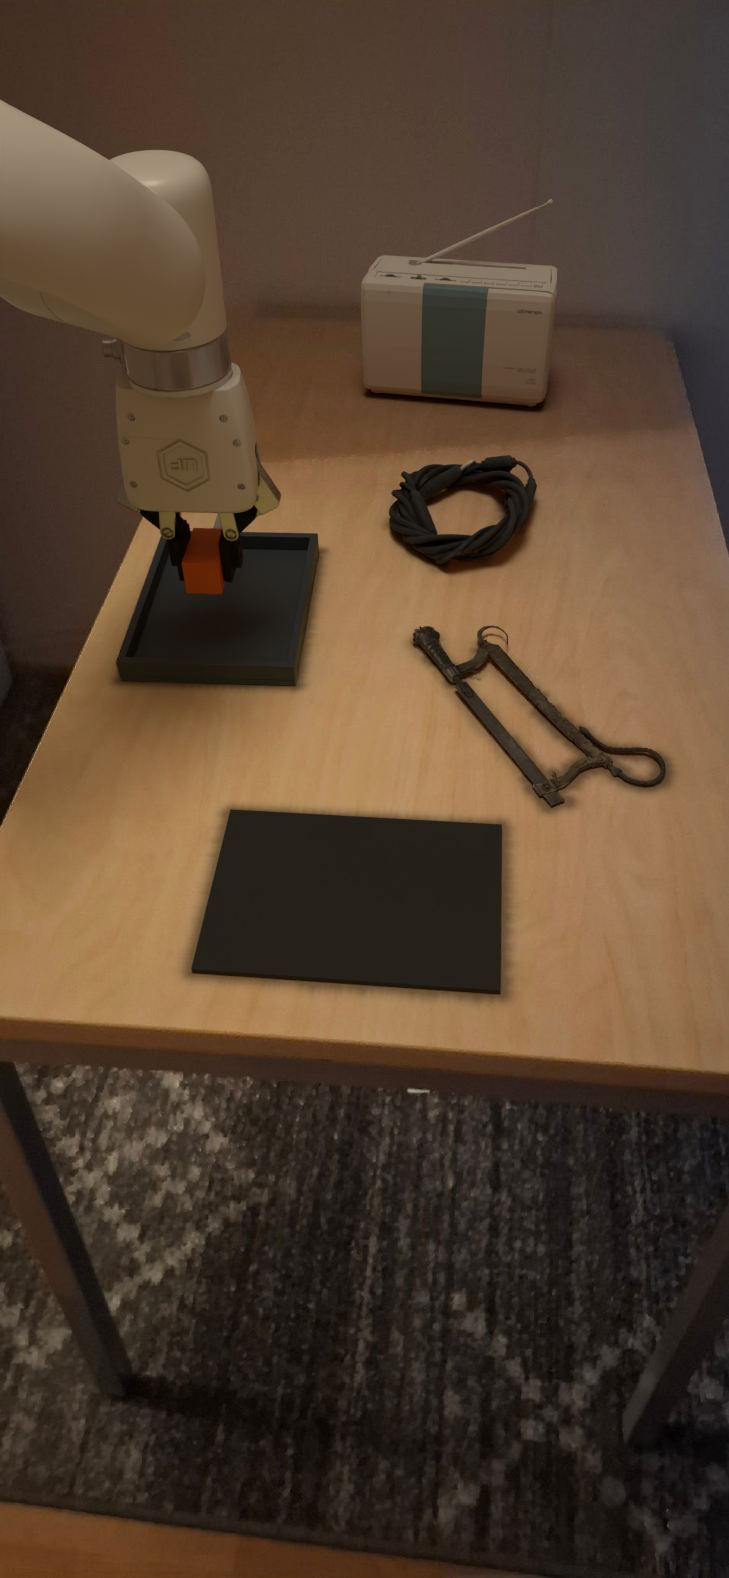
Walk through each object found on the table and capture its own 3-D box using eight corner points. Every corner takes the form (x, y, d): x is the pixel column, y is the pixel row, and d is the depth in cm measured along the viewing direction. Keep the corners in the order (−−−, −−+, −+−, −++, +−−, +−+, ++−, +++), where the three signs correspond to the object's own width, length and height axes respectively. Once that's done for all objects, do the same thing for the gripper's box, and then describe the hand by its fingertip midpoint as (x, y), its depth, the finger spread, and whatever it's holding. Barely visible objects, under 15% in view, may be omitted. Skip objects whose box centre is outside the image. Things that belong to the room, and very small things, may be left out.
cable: (512, 584, 96) (516, 543, 93) (365, 562, 99) (364, 522, 95) (542, 486, 107) (547, 447, 104) (410, 470, 110) (411, 431, 107)
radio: (361, 399, 121) (355, 212, 106) (376, 367, 126) (373, 184, 111) (542, 415, 117) (562, 223, 102) (550, 381, 122) (570, 195, 108)
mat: (191, 972, 68) (190, 969, 68) (230, 812, 77) (230, 808, 77) (500, 993, 66) (500, 990, 66) (501, 827, 76) (501, 824, 75)
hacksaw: (406, 638, 91) (406, 624, 90) (508, 604, 94) (509, 590, 93) (561, 824, 76) (563, 810, 75) (676, 776, 79) (680, 762, 78)
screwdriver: (222, 594, 86) (217, 564, 84) (186, 593, 86) (181, 562, 84) (246, 508, 95) (242, 478, 93) (213, 507, 95) (209, 478, 93)
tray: (295, 686, 87) (293, 666, 85) (120, 680, 88) (115, 661, 86) (319, 551, 100) (317, 533, 98) (166, 548, 101) (162, 530, 99)
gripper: (49, 377, 72) (102, 596, 85) (284, 381, 71) (301, 602, 84) (78, 331, 77) (123, 544, 90) (297, 334, 76) (311, 549, 89)
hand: (209, 570), depth 87 cm, fingers closed on screwdriver, 3 cm apart
